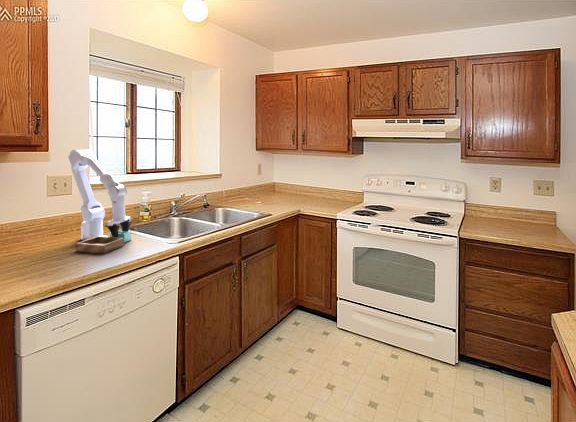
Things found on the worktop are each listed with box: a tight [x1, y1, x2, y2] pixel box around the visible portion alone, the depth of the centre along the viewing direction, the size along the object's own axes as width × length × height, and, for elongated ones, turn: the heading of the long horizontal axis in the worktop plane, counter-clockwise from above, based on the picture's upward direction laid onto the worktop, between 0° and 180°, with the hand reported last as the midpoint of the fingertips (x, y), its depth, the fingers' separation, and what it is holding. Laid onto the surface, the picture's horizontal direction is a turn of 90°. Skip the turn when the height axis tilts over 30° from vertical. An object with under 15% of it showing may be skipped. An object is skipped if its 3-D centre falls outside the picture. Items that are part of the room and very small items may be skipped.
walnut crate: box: [75, 235, 125, 254], centre depth 174 cm, size 14×14×4 cm
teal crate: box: [109, 230, 132, 243], centre depth 188 cm, size 8×5×4 cm, turn 78°
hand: (120, 237), depth 188 cm, fingers open, 7 cm apart
